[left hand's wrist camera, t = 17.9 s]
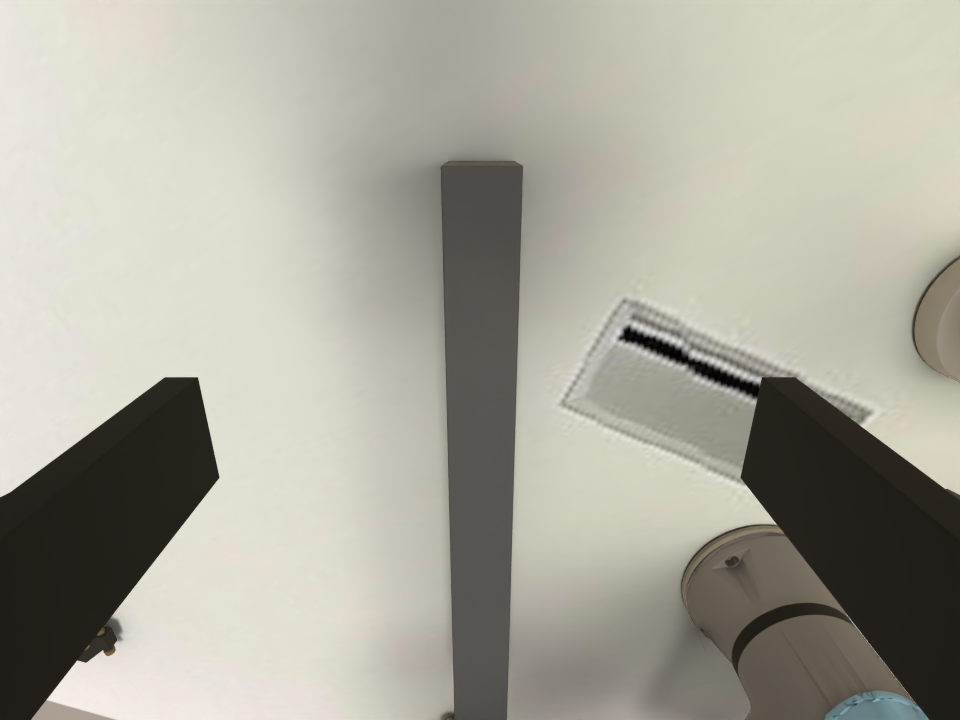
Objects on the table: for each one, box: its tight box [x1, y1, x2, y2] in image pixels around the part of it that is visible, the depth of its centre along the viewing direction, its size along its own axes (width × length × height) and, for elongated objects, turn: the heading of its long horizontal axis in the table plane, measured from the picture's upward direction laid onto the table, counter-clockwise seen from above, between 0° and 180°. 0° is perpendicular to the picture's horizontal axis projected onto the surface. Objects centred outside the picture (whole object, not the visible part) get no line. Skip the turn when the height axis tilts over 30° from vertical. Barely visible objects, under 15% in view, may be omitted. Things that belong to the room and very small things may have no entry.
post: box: [441, 161, 523, 720], centre depth 49 cm, size 55×5×9 cm, turn 0°
